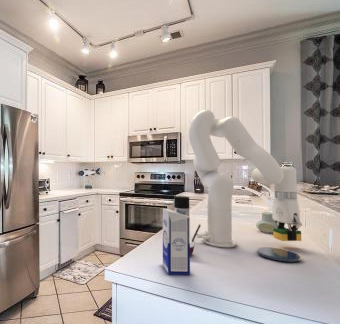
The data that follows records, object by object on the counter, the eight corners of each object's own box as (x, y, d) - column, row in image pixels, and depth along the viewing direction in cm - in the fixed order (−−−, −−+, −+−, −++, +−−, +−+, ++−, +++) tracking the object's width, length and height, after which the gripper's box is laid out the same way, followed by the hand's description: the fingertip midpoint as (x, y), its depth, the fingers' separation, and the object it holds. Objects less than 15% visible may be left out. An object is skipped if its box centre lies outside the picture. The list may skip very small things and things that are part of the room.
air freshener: (254, 231, 132) (254, 212, 132) (258, 228, 138) (258, 210, 138) (279, 235, 124) (279, 215, 124) (283, 232, 130) (283, 213, 130)
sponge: (282, 240, 104) (281, 231, 104) (273, 237, 109) (273, 228, 109) (301, 240, 104) (301, 231, 104) (292, 237, 109) (291, 228, 109)
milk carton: (162, 265, 85) (162, 207, 85) (182, 266, 85) (182, 207, 85) (168, 274, 78) (168, 210, 78) (190, 275, 78) (190, 210, 78)
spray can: (178, 236, 121) (178, 195, 121) (191, 239, 116) (191, 196, 116) (171, 239, 116) (171, 196, 116) (185, 242, 111) (185, 198, 112)
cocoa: (171, 253, 97) (171, 222, 97) (177, 249, 102) (177, 220, 102) (196, 260, 91) (196, 226, 91) (202, 255, 95) (202, 224, 96)
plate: (272, 263, 88) (272, 258, 88) (249, 250, 101) (249, 247, 101) (310, 263, 88) (310, 259, 88) (282, 251, 101) (282, 247, 101)
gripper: (263, 193, 115) (264, 233, 115) (292, 198, 98) (293, 244, 98) (279, 193, 115) (280, 233, 115) (311, 197, 98) (313, 244, 98)
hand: (286, 237), depth 106 cm, fingers closed on sponge, 5 cm apart
